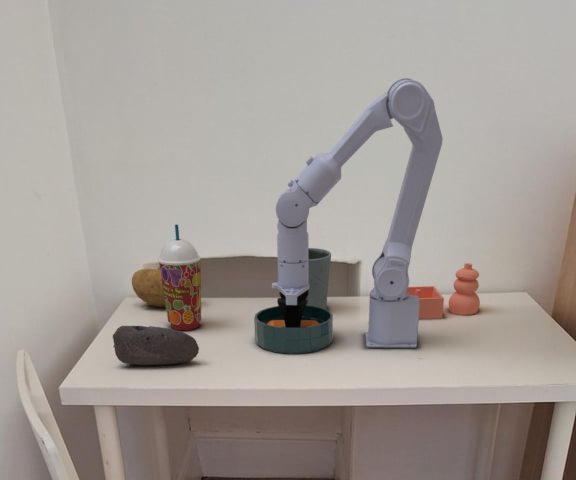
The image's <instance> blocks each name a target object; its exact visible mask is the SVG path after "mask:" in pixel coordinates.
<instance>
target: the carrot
mask: <svg viewBox="0 0 576 480" xmlns="http://www.w3.org/2000/svg"><path fill="white" fill-rule="evenodd" d="M267 324H268V325H272V326H278V327H285V322H284V320H272V321H270V322H268V323H267ZM318 324H320V323H319V322H317V321H315V320H301V325H300V327H307V326H313V325H318Z"/></svg>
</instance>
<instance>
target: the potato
mask: <svg viewBox="0 0 576 480" xmlns="http://www.w3.org/2000/svg"><path fill="white" fill-rule="evenodd" d="M131 286H132V289H133V292H134V293H135V294H136V296H137V298H139V299H140V300H142V301H143V302H144V303H146V304H148V305H151V306H154V307H158V308H166V305H165V299H164V292H163V286H162V280H161V274H160V268H143V269H139V270H137V271H135V272H134V273H133V275H132V277H131Z"/></svg>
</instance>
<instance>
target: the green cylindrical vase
mask: <svg viewBox="0 0 576 480" xmlns="http://www.w3.org/2000/svg"><path fill="white" fill-rule="evenodd" d="M331 260H332V252H330V251H329V250H327V249H324V248H323V249H322V248H318V247H317V248H316V247H308V283H309V289H308V290H309V294H308V296H307V298H306V300H308V303H307V305H309V306H315V307H320V308H323V309H326V310H327V307H328V292H329V281H330V280H329V279H330V269H331V262H332V261H331Z"/></svg>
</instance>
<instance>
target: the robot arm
mask: <svg viewBox="0 0 576 480" xmlns="http://www.w3.org/2000/svg"><path fill="white" fill-rule="evenodd" d="M392 119H394V120H395V121H396V122H397V123H398V124H399V125H400V126H401V127H402V128H403V131H404V132H405V134H406V136H407V138H408V140H409V142H410V143H411V146H412V147H411V150H410V154H409V158H408V161H407V164H406V168H405V171H404V176H403V180H402V183H401V187H400V190H399V194H398V196H397V197H398V198H397V200H396V201H397V202H396V204H395V208H394V212H393V216H392V219H391V223H390V227H389V230H388V233H387V237H386V239H385V241H384V244H383V247H382V251H381V252H380V255H379V256H378V257H377V258H376V259H375V261H374V262H373V264H372V268H371V272H372V273H371V275H372V278H373V285H374V287H373V288H372V290H370V292H369V307H368V308H369V309H368V328H367V331H366V332H365V333H364V336H365V344H366V347H367V348H405V349H406V348H407V349H408V348H409V349H410V348H411V349H412V348H414V349H415V348H417V347H418V344H417V343H418V335H419V320H420V319H419V297H418V296H413V295H409V293H408V291H407V288H408V287H410V286H409V285H410V276H409V267H410V264H411V258H412V248H413V244H414V241H415V238H416V234H417V231H418V227H419V225H420V221H421V217H422V214H423V211H424V208H425V204H426V200H427V197H428V193H429V190H430V188H431V187H430V186H431V183H432V180H433V176H434V174H435V170H436V166H437V163H438V159H439V156H440V153H441V150H442V146H443V141H444V140H443V139H444V138H443V134H442V130H441V127H440V122H439V119H438V115H437V111H436V106H435V101H434V99H433V98H432V96H431V94H430V93H429V92H428V90H427V89H426V87H425V86H424V84H422V83H421V82H420V81H418V80H414V79H411V78H409V77H407V78H406V77H405V78H400V79H398V80H395V82H393V83H391V85H390V87H389V89H388V90H387V92H386V91H384V92H383V93H381V94H380V95H379V96H378V97H377V98H376V99H375V100H374V101H373V102H371V103H370V104H369V105H368V106H367V107H366V108H365V109H364V111H363V112H362V113H361V114H360V115H359V117H358V118H357V119H356V120H355V121H354V123H353V124H352V125H351V126H350V127H349V128H348V130H347V131H346V132H345V133H344V134H343V136H342V137H341V138H340V139H339V140H338V142H337V143H336V144H335V145H334V146H333V148H332V149H331V150H330V151H329V152H324V153H323V152H322V153H321V152H319V153H317V154H316V155H315V156H314V157H313V156H310V157H308V159H307V160H306V161H305V162H306V165H307V166H305V167H304V168H303V170H302V171H301V172H300V173H299V174H298V175H297V176H296V178H295V179H294V180H292V179H290V180H289V181H288V183H287V186H288V187H289V188H288V189H285V190H284V191H282V192H281V194H279V196H278V199H277V202H276V205H275V214H276V217H277V219H278V221H277V225H276V228H277V233H276V245H277V246H276V247H277V251H276V252H277V255H276V256H277V282H271V289H273V290H278V291H279V297H277V301H276V302H277V306H279V307H280V309H281V311H282V314H283V317H284V322H285V327H300V325H301V319H302V315H303V312H304V309H305V307H306V305H307V303H308V300H306V298H307V296H308V294H309V290H308V289H309V283H308V248H309V232H308V219H309V215H310V209H311V208H313V207H317V206H318V204H319V203H321V201H322V200H323V199H324V198H325V197H326V196H327V195H328V194H329V192H331V191H332V189H333V188H334V187H335V186H336V185H337V184H338V183H339V182H340V180H342V167H343V166H344V165H345V164H346V163H347V162H348V161H349V160H350V159H351V158H352V156H354V155H355V154H356V152H358V150H359V149H361V148H362V146H363V145H364V144H365V143H366V142H367V141H368V140H369V139H370V138H371V137H372V136H373V135H374V134H375V133H377V132H379V131H382V130H386V129H390V128H393V127H394V125H393V122H392Z"/></svg>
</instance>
